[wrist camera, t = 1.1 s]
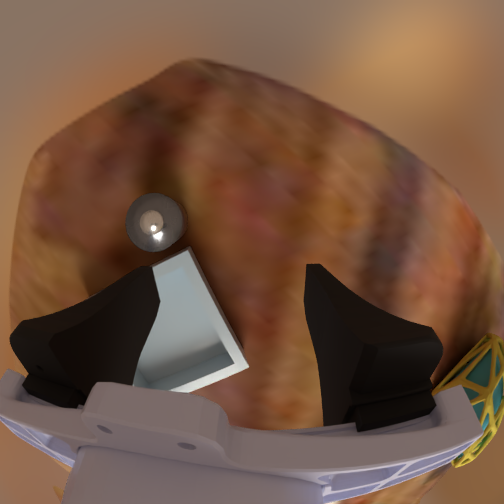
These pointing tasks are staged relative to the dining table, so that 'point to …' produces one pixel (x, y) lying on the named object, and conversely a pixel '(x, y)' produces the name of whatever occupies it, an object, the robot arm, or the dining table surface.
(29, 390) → the robot arm
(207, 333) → the dish
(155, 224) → the battery cell
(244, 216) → the dining table surface
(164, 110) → the dining table surface
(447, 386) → the decorative object
